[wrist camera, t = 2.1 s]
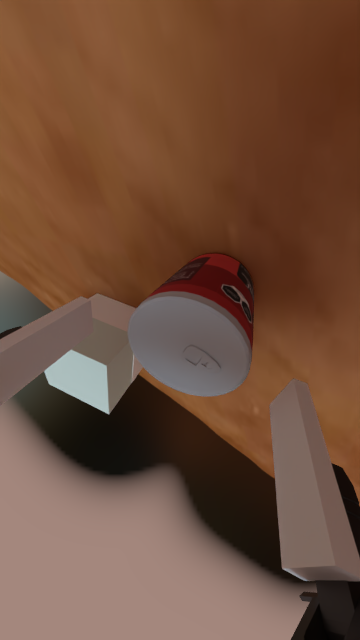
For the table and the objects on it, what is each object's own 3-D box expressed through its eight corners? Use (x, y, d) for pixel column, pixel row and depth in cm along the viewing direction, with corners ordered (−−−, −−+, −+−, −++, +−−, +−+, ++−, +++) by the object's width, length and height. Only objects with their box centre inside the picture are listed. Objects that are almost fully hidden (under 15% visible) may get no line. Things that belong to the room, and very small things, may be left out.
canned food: (242, 326, 21) (232, 412, 13) (177, 309, 23) (129, 374, 14) (266, 259, 17) (275, 319, 8) (184, 244, 19) (121, 281, 10)
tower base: (155, 314, 25) (135, 335, 21) (148, 359, 30) (131, 382, 26) (98, 292, 27) (70, 308, 23) (101, 338, 32) (79, 358, 28)
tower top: (135, 335, 21) (106, 365, 17) (131, 382, 26) (109, 414, 22) (69, 308, 23) (29, 330, 19) (78, 357, 28) (48, 383, 24)
